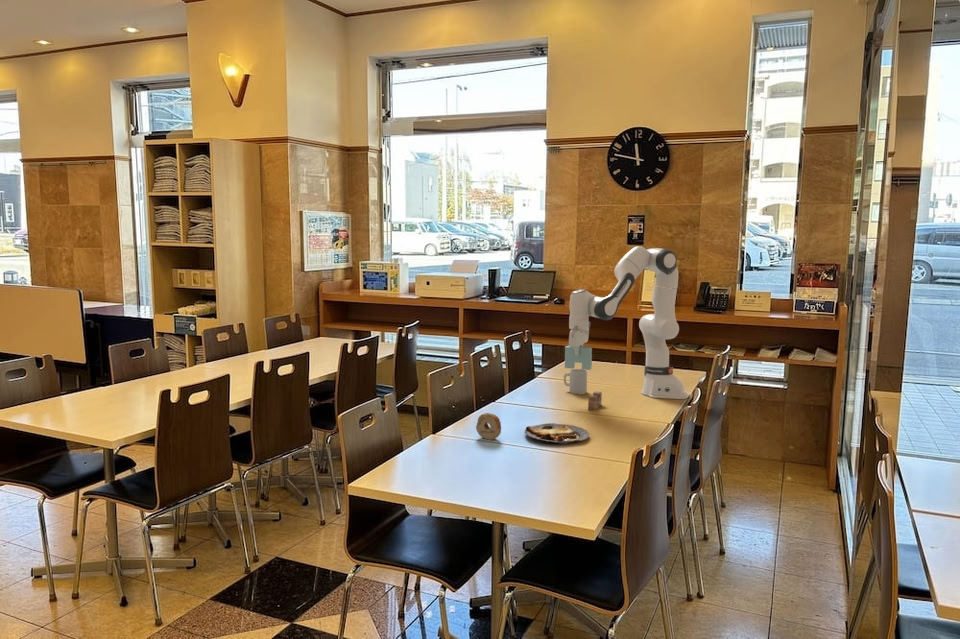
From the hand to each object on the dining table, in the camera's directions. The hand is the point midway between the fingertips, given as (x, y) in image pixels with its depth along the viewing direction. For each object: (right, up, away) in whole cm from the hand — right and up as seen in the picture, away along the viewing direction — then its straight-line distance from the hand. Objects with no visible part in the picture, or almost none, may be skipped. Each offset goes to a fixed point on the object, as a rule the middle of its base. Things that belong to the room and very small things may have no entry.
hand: (578, 354), depth 321 cm
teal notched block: (0, -7, +1) cm, 7 cm away
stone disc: (-42, -30, -54) cm, 75 cm away
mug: (+2, -20, +24) cm, 32 cm away
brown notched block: (+7, -24, -6) cm, 25 cm away
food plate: (-16, -30, -51) cm, 62 cm away
